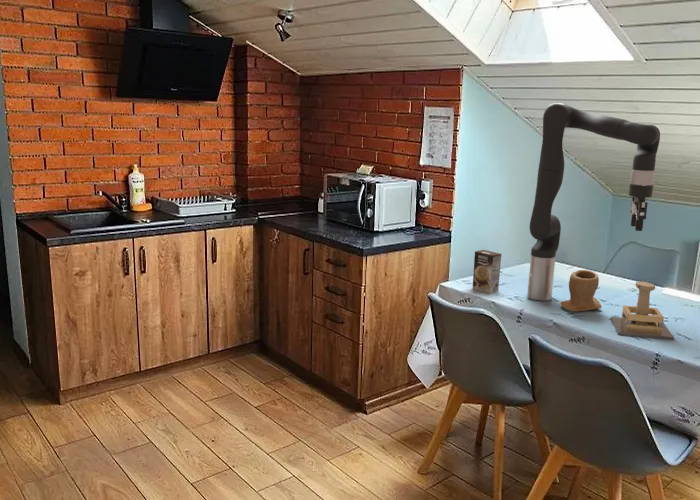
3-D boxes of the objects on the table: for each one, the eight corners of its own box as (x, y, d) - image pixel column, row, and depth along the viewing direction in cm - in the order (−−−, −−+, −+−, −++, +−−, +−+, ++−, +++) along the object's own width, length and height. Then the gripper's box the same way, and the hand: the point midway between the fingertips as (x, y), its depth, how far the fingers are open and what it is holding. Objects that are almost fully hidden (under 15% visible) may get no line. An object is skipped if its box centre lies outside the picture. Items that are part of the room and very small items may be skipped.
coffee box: (471, 289, 254) (473, 251, 250) (481, 286, 258) (483, 249, 255) (489, 294, 247) (492, 255, 244) (499, 291, 252) (502, 253, 248)
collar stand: (617, 334, 204) (620, 316, 203) (610, 319, 219) (612, 302, 218) (673, 340, 200) (676, 321, 198) (662, 323, 215) (664, 306, 214)
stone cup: (575, 316, 222) (579, 276, 218) (555, 306, 233) (559, 268, 230) (610, 312, 226) (614, 273, 223) (588, 303, 237) (592, 265, 234)
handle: (639, 322, 213) (644, 281, 210) (653, 328, 207) (658, 286, 204) (628, 323, 212) (632, 282, 208) (641, 330, 206) (646, 287, 202)
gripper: (626, 180, 222) (621, 224, 226) (634, 184, 208) (628, 231, 212) (648, 181, 220) (643, 225, 224) (658, 185, 207) (652, 232, 210)
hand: (636, 228), depth 218 cm, fingers open, 8 cm apart
